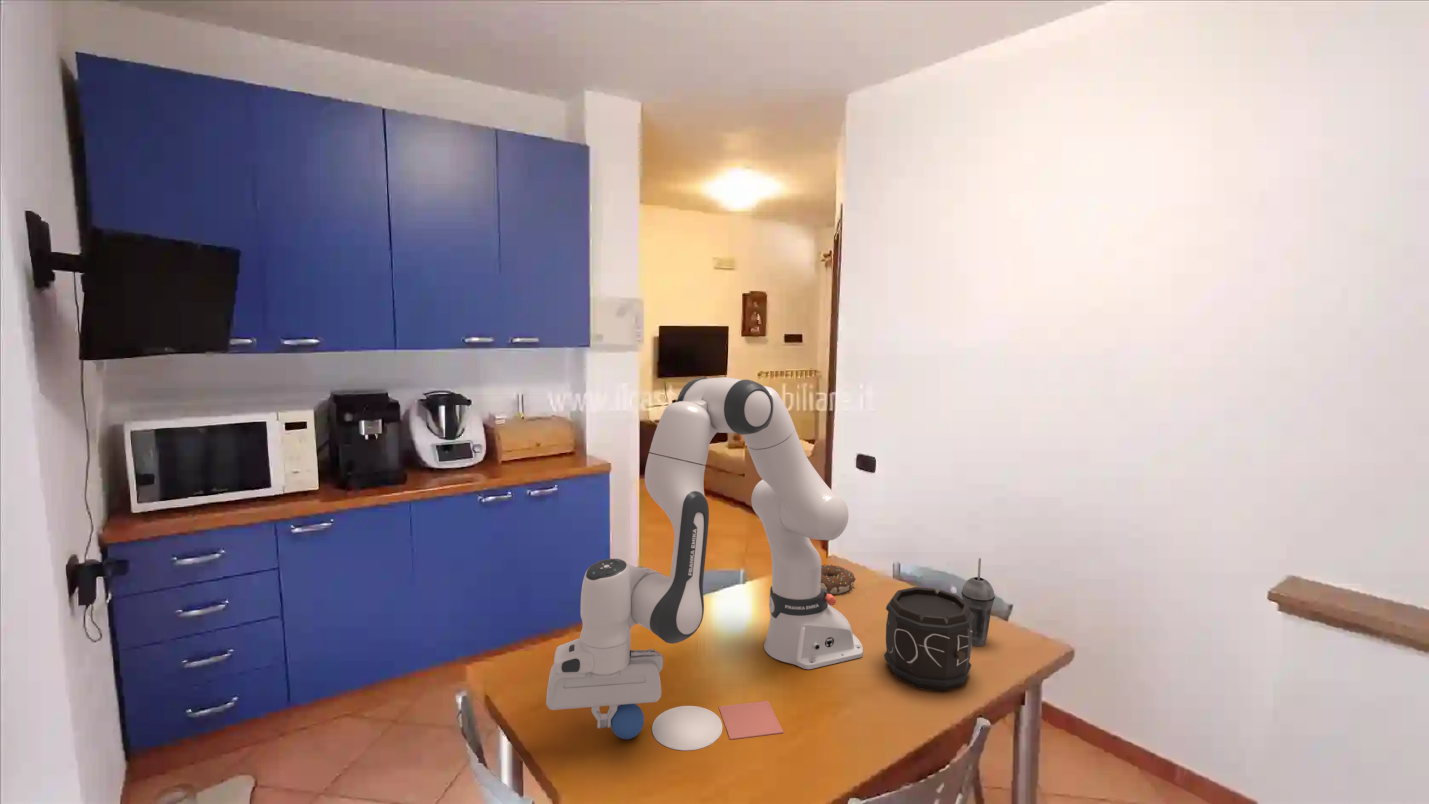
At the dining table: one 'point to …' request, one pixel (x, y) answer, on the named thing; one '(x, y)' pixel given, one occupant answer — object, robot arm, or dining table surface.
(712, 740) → the disc
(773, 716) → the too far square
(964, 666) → the wooden barrel
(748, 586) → the dining table surface
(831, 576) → the donut
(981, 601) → the beverage cup
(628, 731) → the ball
